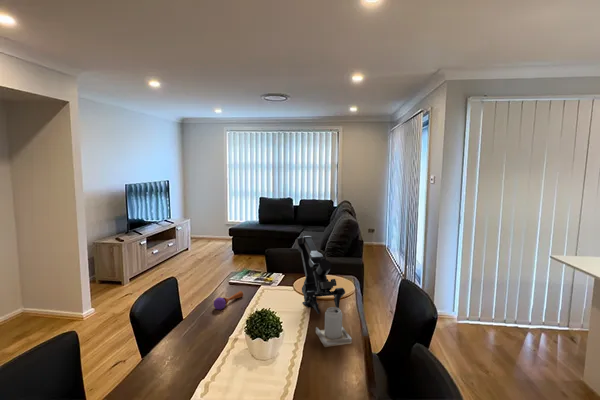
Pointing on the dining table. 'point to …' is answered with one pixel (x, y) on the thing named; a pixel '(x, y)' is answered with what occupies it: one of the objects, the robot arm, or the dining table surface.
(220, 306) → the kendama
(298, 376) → the dining table surface
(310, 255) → the robot arm
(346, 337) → the rail dock
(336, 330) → the can
